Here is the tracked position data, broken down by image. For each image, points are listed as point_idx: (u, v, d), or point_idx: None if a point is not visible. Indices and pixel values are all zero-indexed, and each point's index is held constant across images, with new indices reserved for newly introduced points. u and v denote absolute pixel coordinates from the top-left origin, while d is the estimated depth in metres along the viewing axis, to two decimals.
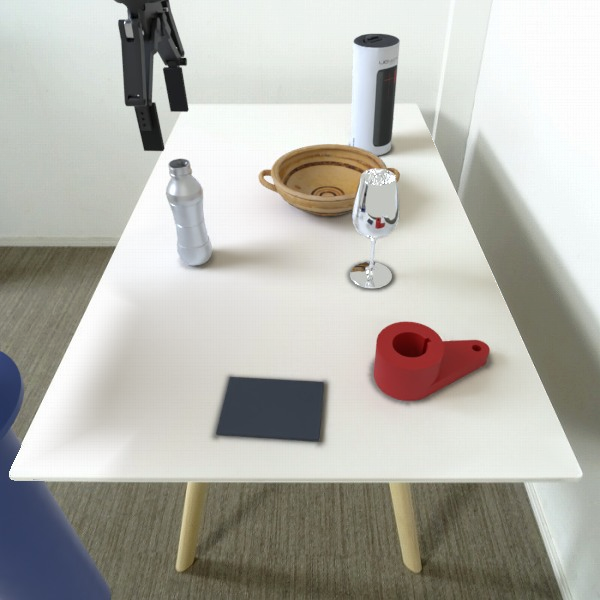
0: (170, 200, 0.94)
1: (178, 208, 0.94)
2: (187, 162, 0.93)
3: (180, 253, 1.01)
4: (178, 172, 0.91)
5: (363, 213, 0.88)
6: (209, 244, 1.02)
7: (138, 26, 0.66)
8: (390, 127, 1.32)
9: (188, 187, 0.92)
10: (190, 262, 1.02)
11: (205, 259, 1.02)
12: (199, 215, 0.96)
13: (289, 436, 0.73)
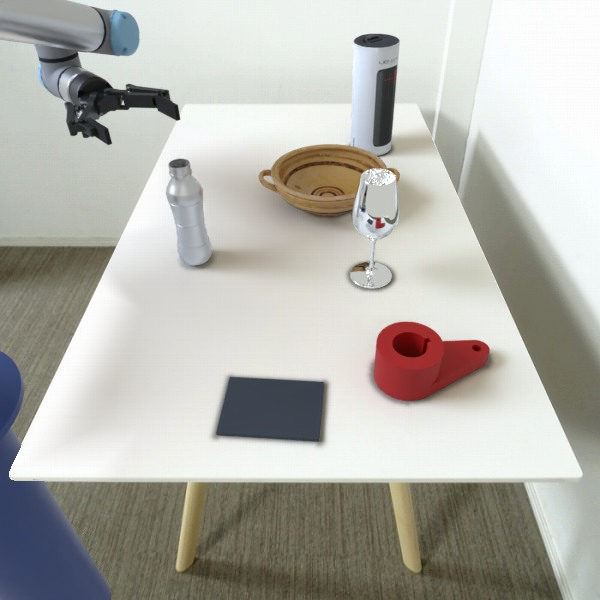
0: (170, 200, 0.94)
1: (178, 208, 0.94)
2: (187, 162, 0.93)
3: (180, 253, 1.01)
4: (178, 172, 0.91)
5: (363, 213, 0.88)
6: (209, 244, 1.02)
7: None
8: (390, 127, 1.32)
9: (188, 187, 0.92)
10: (190, 262, 1.02)
11: (205, 259, 1.02)
12: (199, 215, 0.96)
13: (289, 436, 0.73)
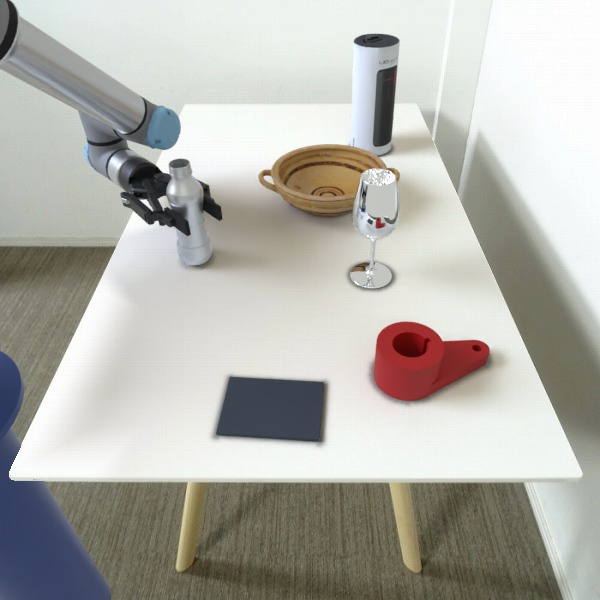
0: (170, 200, 0.94)
1: (178, 208, 0.94)
2: (187, 162, 0.93)
3: (180, 253, 1.01)
4: (178, 172, 0.91)
5: (363, 213, 0.88)
6: (209, 244, 1.02)
7: None
8: (390, 127, 1.32)
9: (188, 187, 0.92)
10: (190, 262, 1.02)
11: (205, 259, 1.02)
12: (199, 215, 0.96)
13: (289, 436, 0.73)
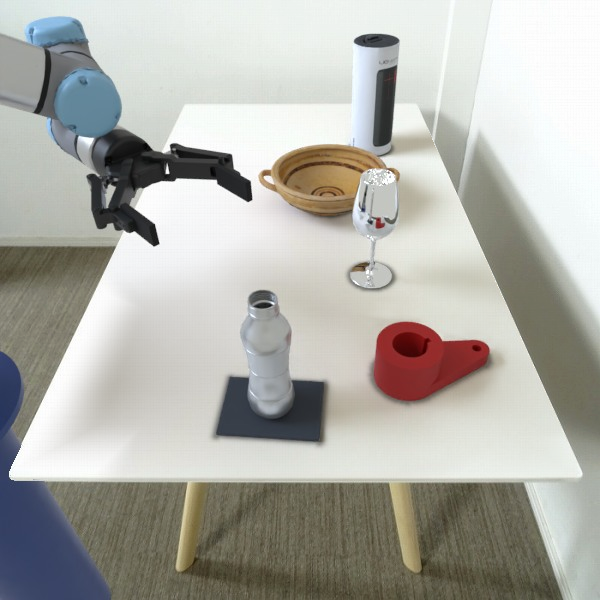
0: (248, 347, 0.66)
1: (259, 357, 0.67)
2: (273, 295, 0.65)
3: (253, 405, 0.74)
4: (263, 314, 0.63)
5: (363, 213, 0.88)
6: (292, 391, 0.74)
7: None
8: (390, 127, 1.32)
9: (274, 331, 0.65)
10: (266, 416, 0.74)
11: (286, 411, 0.75)
12: (285, 362, 0.69)
13: (289, 436, 0.73)
